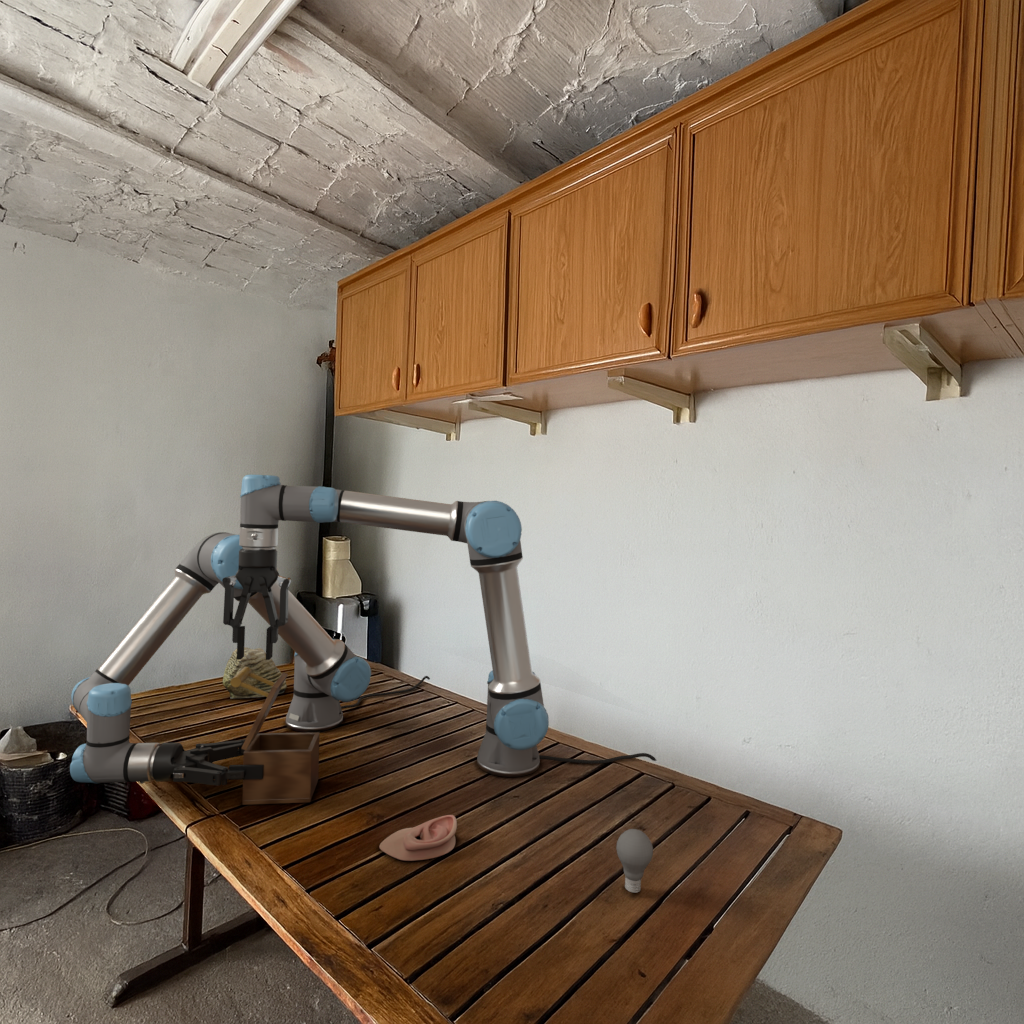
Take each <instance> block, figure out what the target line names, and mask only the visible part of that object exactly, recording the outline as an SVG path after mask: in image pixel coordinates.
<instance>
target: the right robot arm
mask: <svg viewBox="0 0 1024 1024" xmlns="http://www.w3.org/2000/svg"><path fill="white" fill-rule="evenodd" d="M240 489H241V490H240V496H239V498H240V505H239V506H240V507H239V508H240V509H239V511H240V512H239V513H240V514H239V516H240V520H239V535H240V538H239V545H240V546H241V547H242V549H240V550H239V566H238V571H237V573H236V575H233V576H227V577H225V578H223V579H222V582H223V585H224V587H223V588H224V598H223V618H222V619H223V620H222V623H223V625H225V626H229V627H231V629H232V635H231V636H232V637H231V640H232V641H231V642H232V643H233V644H236V649H237V660H241V659H242V658H243V657H244V647H245V644H246V643H245V639H246V625H242V624H243V619H244V616H245V614H246V610H247V607H248V605H249V603H248V601H249V598H250V595H251V593H253V592H258V593H262V596H263V598H264V601H265V605H266V609H267V614H268V618H269V622H270V625H269V626H268V627H267V628H266V635H265V636H266V637H265V639H266V640H265V653H266V660H270V659H272V658H273V650H274V649H273V648H274V644H276V643H277V642H278V640H279V634H278V628H279V626H283V625H285V624H286V623H287V622H288V590H289V588H290V585H291V583H292V578H291V577H285V576H282V575H280V573H279V570H278V571H277V568H278V550H277V549H276V548H277V547H278V545H279V522H280V521H282V522H286V521H287V522H305V523H307V522H308V523H318V524H321V523H333V522H334V523H345V524H351V525H359V526H366V527H376V528H384V529H391V530H398V531H407V532H412V533H413V532H414V533H420V534H421V533H422V534H429V535H438V536H445V537H447V538H448V539H449V540H450V541H451V542H459V543H463V544H466V545H467V550H468V558H469V563H470V564H469V565H470V567H471V568H472V569H473V570H475V571H476V572H477V573H478V579H479V584H480V591H481V599H482V606H483V612H484V619H485V627H486V632H487V640H488V647H489V654H490V661H491V667H492V670H490V672H489V673H488V677H487V682H486V684H487V695H486V696H487V697H486V698H487V699H486V718H485V719H486V721H485V723H486V724H485V733H484V735H483V738H482V741H481V744H480V747H479V749H478V752H477V757H476V764H477V766H478V768H479V769H480V770H482V771H483V772H485V773H488V774H490V775H492V776H498V777H505V778H506V777H507V778H517V777H518V778H519V777H524V776H529V775H531V774H533V773H536V771H538V770H539V768H540V763H541V762H540V761H541V760H546V761H547V760H548V761H554V762H562V763H563V762H564V763H574V764H582V765H583V764H585V765H600V764H602V765H603V764H609V763H614V762H618V761H622V760H630V759H636V758H641V757H642V758H644V757H645V758H648V759H650V760H651V761H653V762H656V761H657V759H656V757H655V756H653V754H652V755H651V754H650V753H646V752H638V753H634V754H628V755H625V754H624V755H618V756H615V757H611V758H604V759H578V758H567V757H559V756H550V755H541V754H540V753H539V749H538V746H537V745H539V744H540V743H541V742H542V741H543V740H544V738H545V737H546V736H547V733H548V730H549V727H550V725H549V723H550V722H549V719H550V718H549V714H548V711H547V709H546V708H545V704H544V698H543V690H542V684H541V679H540V677H539V676H537V675H536V673H535V672H534V671H533V670H532V661H531V656H530V648H529V641H528V633H527V627H526V619H525V612H524V605H523V597H522V593H521V592H522V591H521V585H520V578H519V570H518V568H519V567H518V566H519V565H520V564H521V562H522V561H523V559H524V557H523V550H522V549H523V548H522V543H521V541H522V540H521V539H522V531H523V527H522V522H521V519H520V517H519V515H518V514H517V512H516V511H515V510H514V509H513V508H512V506H510V505H509V504H507V503H506V502H503V501H499V500H483V501H461V500H455V501H454V502H453V503H445V502H444V503H443V502H436V501H428V500H421V499H412V498H406V497H398V496H391V495H383V494H375V493H367V492H360V491H353V490H343V489H336V488H334V487H327V486H323V485H319V486H312V485H311V486H310V485H287V484H286V485H285V484H281V479H280V476H278V475H270V474H246V475H244V476H243V477H242V479H241V488H240ZM236 580H238V581H239V583H240V584H241V586H242V587H243V590H242V593H241V598H240V601H238V605H237V607H236V611H235V614H234V604H235V603H234V602H235V601H234V600H235V598H234V585H235V584H236ZM276 581H278V582H279V587H281V589H280V620H278V617H277V613H276V608H275V604H274V600H273V596H272V589H271V587H272V586H273V584H274V583H275V582H276Z"/></svg>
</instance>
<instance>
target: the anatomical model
mask: <svg viewBox="0 0 1024 1024" xmlns="http://www.w3.org/2000/svg"><path fill="white" fill-rule="evenodd" d="M457 830H458V820H457V818H456V816H455V815H453V814H446V815H442V816H441V815H440V816H438V817H435V818H433V819H430V820H427V821H425V822H423V823H421V824H419V825H416V826H414V827H406V828H402V829H399V830H397V831H395V832H393V833H392V834H389V835H388V836H387V837H386V838H385V839H384V840H382V841H381V842H380V844H379V850H381V852H383V853H384V854H386V855H388V856H390V857H392V858H394V859H397V860H400V861H403V862H414V861H423V860H429V859H430V860H431V859H434V858H439V857H441V856H444V855H446V854H448V853H450V852H451V851H452V850H453V849H454V848H455V846H456V842H457V841H456V836H455V835H456V833H457Z"/></svg>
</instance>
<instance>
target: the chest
mask: <svg viewBox="0 0 1024 1024" xmlns="http://www.w3.org/2000/svg"><path fill="white" fill-rule="evenodd" d="M242 757H243V758H242V759H243V763H242V765H264V769H263V779H249V780H242V800H241V801H242V806H246V805H247V806H248V805H273V804H275V805H276V804H301V803H302V804H304V803H311V802H312V798H313V796H314V793H315V790H316V788H317V784H318V782H319V766H320V765H319V763H320V731H318V732H269V733H265V732H263V733H258V734H257V735H256V737H255V738H254V740H253V741H252V743H251V744H250V745H249V747H248V748H247V750H245V751H244V755H243V756H242Z"/></svg>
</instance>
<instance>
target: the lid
mask: <svg viewBox="0 0 1024 1024" xmlns="http://www.w3.org/2000/svg"><path fill="white" fill-rule="evenodd" d="M249 676H250V677H252V678H254V679H257V680H259V681H261V682H264V683H266V684H268V685H271V686H273V687H272V689H271V691H270V693H268V692H265V691H263V690H261V689H258V688H256V687H254V686H251V685H249V684H247V683H244V681H245V680H246V679H247V678H248V677H249ZM287 677H288V673H287V672H284V671H283V672H282V675H281V676H280V678H279V679H278V680H277V681H276V683H274V682H272V681H269V680H267V679H265V678H263V677H260V676H258V675H256V674H253V673H251V669H250V668H248V667H244V668H243V669H242V670H241V671H240V672H239V673H238V674H236V675H235V676H234V677H233V678H232V679H231V685H232V686H233V687H239V686H242V687H244V688H247V689H249V690H251V691H254V692H256V693H258V694H261V695H263V696H265V697H266V698H265V700H264V703H263V704H262V706H261V708H260V711H259V713H258V714H257V716H256V718H255V720H254V721H253V723H252V727H251V728H250V730H249V732H248V734H247V736H246V738H245V742H244V744H243V746H242V748H241V749H243V750H247V748H248V747H249V745H250V744H251V743H252V741H253V740H254V738H255V737H256V735H257V734H259V732H260V731H261V728H262V726H263V725H264V723H265V721H266V718H267V717H268V715H269V713H270V711H271V709H272V707H273V705H274V703H275V701H276V699H277V697H278V695H279V694H278V693H279V691H280V689H281V687H282V685H283V683H284V681H285V680H286V679H287Z"/></svg>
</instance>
